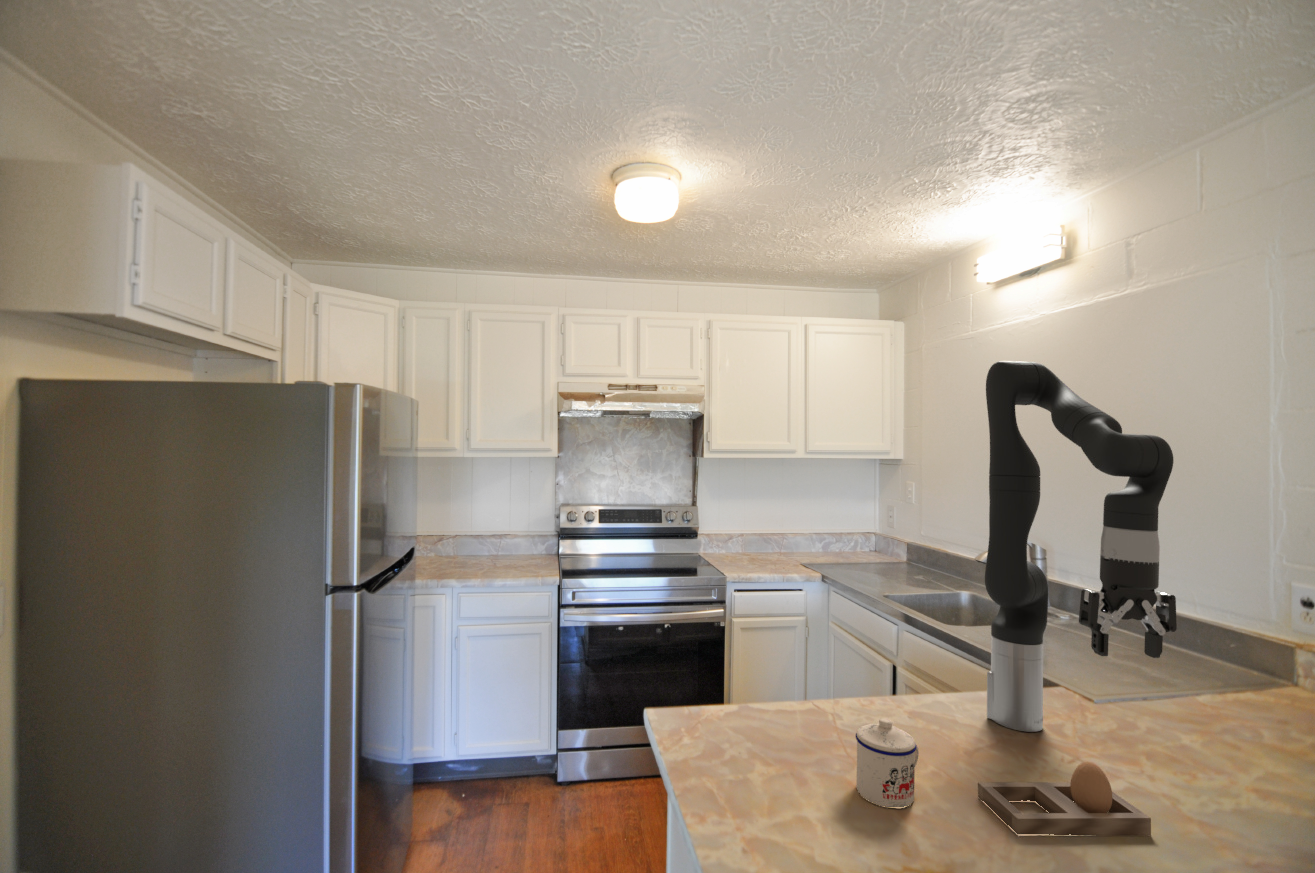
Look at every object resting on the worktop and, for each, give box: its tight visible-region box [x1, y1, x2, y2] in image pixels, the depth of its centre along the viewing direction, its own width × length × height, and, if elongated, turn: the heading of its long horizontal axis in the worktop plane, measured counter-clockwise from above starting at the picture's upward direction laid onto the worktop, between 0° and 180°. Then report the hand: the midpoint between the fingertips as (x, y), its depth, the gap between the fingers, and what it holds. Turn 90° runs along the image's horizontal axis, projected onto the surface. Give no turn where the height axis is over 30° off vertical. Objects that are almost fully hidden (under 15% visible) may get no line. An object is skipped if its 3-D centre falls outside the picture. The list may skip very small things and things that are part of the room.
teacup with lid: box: [855, 717, 919, 807], centre depth 95 cm, size 12×9×12 cm
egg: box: [1070, 761, 1113, 813], centre depth 90 cm, size 5×5×8 cm
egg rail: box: [977, 781, 1152, 837], centre depth 89 cm, size 20×10×2 cm, turn 93°
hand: (1126, 655), depth 96 cm, fingers open, 8 cm apart
